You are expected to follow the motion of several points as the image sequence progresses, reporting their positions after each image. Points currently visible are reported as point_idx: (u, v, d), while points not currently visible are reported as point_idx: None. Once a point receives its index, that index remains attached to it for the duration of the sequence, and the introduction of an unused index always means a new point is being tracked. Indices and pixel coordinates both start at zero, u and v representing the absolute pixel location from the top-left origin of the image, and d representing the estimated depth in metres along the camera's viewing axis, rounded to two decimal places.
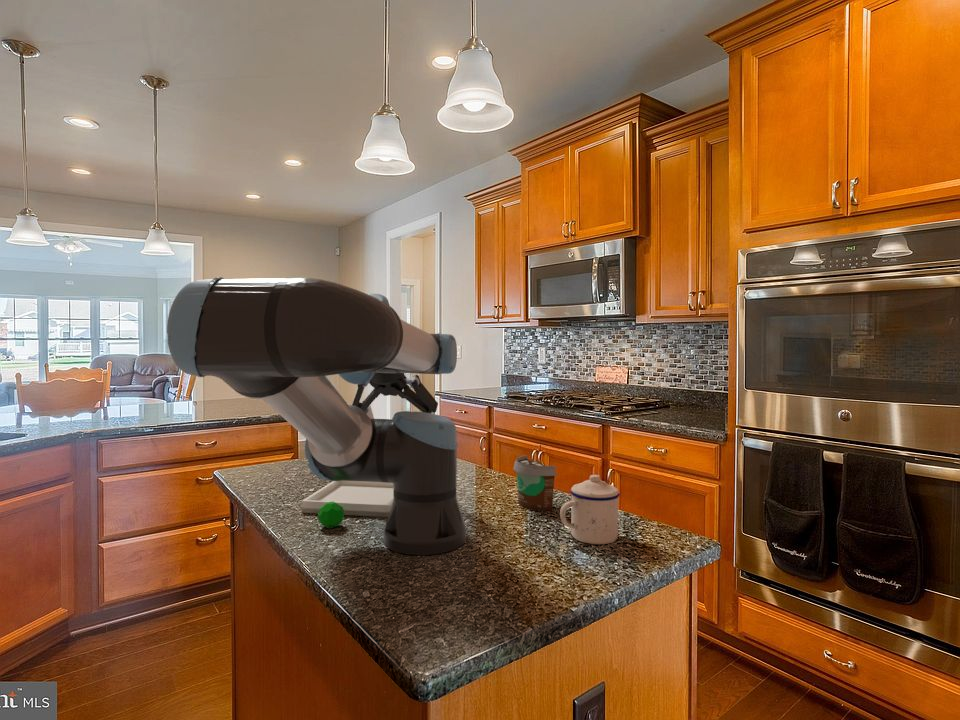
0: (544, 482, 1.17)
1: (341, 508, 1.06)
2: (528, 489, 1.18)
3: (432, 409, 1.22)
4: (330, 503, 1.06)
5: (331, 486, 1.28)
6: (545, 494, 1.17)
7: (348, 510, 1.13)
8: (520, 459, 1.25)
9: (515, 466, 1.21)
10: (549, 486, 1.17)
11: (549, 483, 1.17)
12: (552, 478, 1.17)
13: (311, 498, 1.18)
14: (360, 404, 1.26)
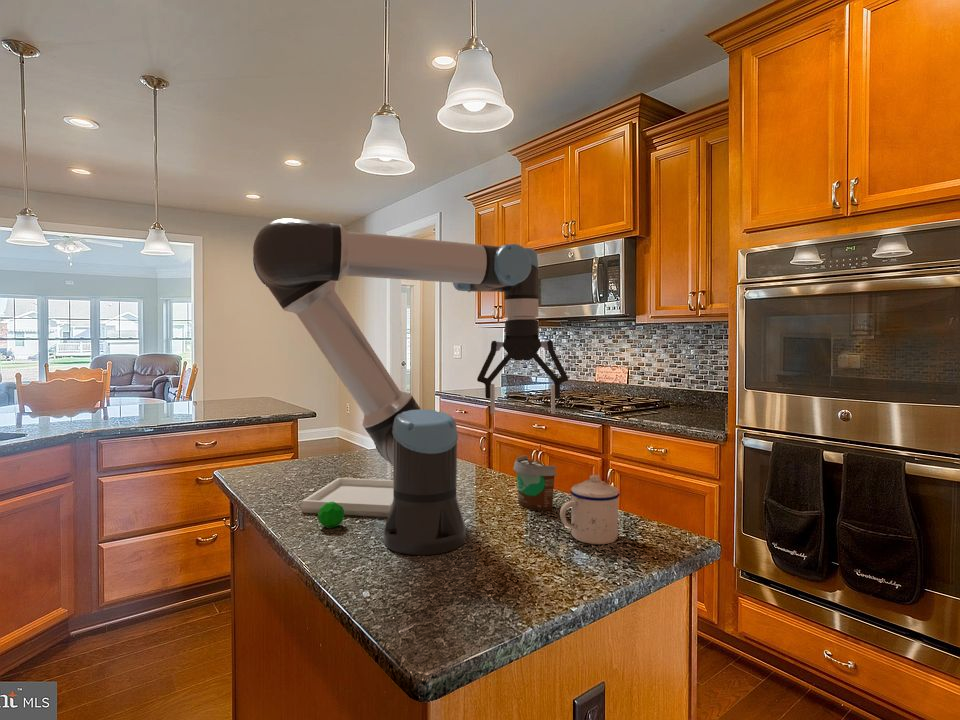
0: (544, 482, 1.17)
1: (341, 508, 1.06)
2: (528, 489, 1.18)
3: (564, 376, 1.19)
4: (330, 503, 1.06)
5: (331, 486, 1.28)
6: (545, 494, 1.17)
7: (348, 510, 1.13)
8: (520, 459, 1.25)
9: (515, 466, 1.21)
10: (549, 486, 1.17)
11: (549, 483, 1.17)
12: (552, 478, 1.17)
13: (311, 498, 1.18)
14: (486, 378, 1.22)
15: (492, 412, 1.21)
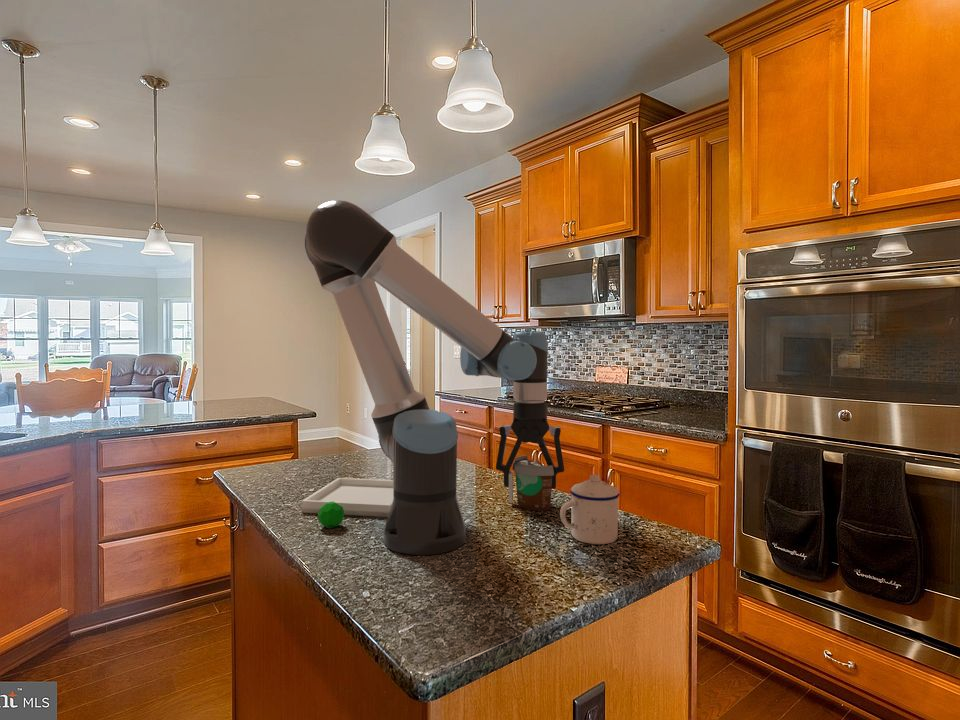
0: (542, 482, 1.17)
1: (341, 508, 1.06)
2: (526, 489, 1.18)
3: (561, 467, 1.18)
4: (330, 503, 1.06)
5: (331, 486, 1.28)
6: (543, 494, 1.17)
7: (348, 510, 1.13)
8: (520, 459, 1.25)
9: (513, 466, 1.21)
10: (547, 486, 1.17)
11: (547, 483, 1.17)
12: (550, 478, 1.17)
13: (311, 498, 1.18)
14: (504, 465, 1.21)
15: (510, 501, 1.20)
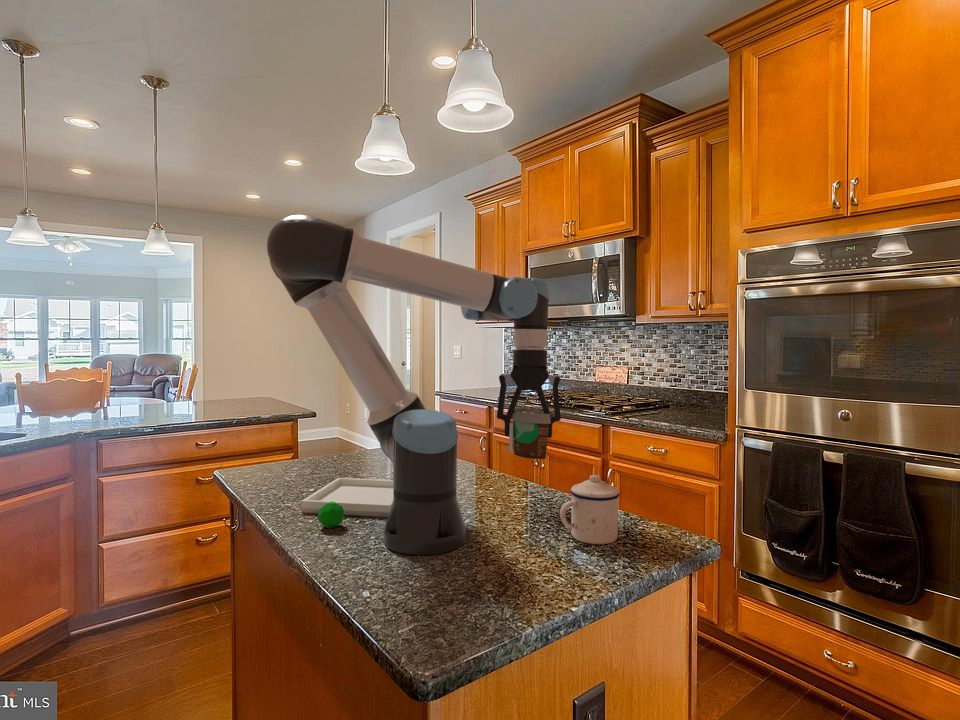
0: (538, 430, 1.16)
1: (341, 508, 1.06)
2: (522, 437, 1.17)
3: (557, 416, 1.18)
4: (330, 503, 1.06)
5: (331, 486, 1.28)
6: (539, 442, 1.16)
7: (348, 510, 1.13)
8: (519, 410, 1.25)
9: None
10: (543, 434, 1.16)
11: (544, 432, 1.16)
12: (546, 427, 1.16)
13: (311, 498, 1.18)
14: (505, 415, 1.21)
15: (511, 450, 1.19)
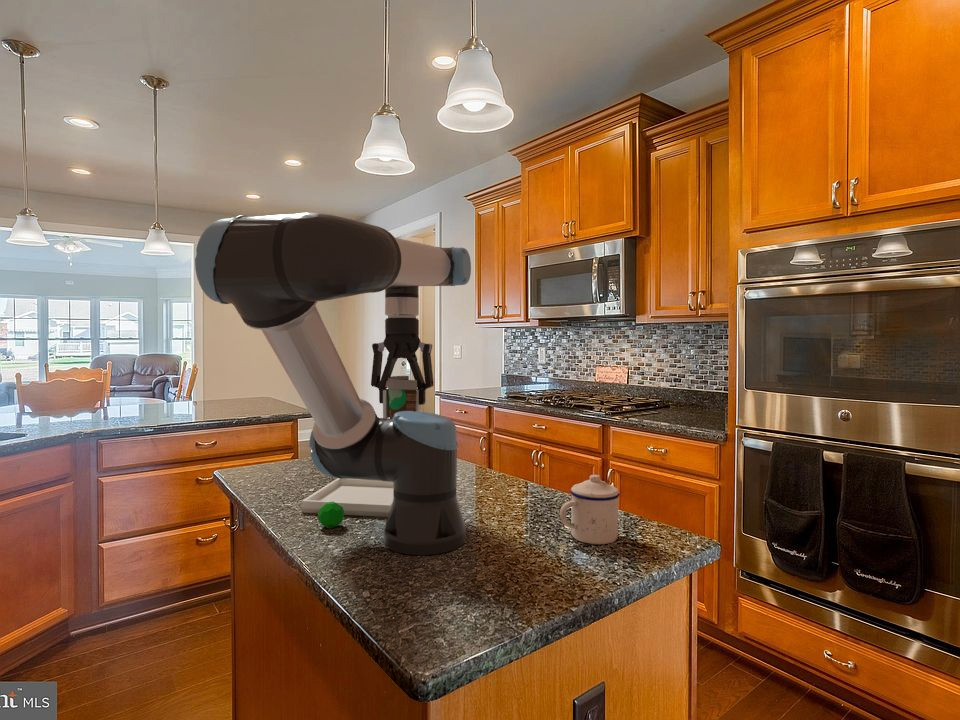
0: (406, 397, 1.18)
1: (341, 508, 1.06)
2: (393, 403, 1.20)
3: (427, 383, 1.20)
4: (330, 503, 1.06)
5: (331, 486, 1.28)
6: (407, 408, 1.18)
7: (348, 510, 1.13)
8: (399, 378, 1.27)
9: None
10: (411, 400, 1.18)
11: (411, 398, 1.18)
12: (414, 393, 1.18)
13: (311, 498, 1.18)
14: None
15: (384, 417, 1.22)
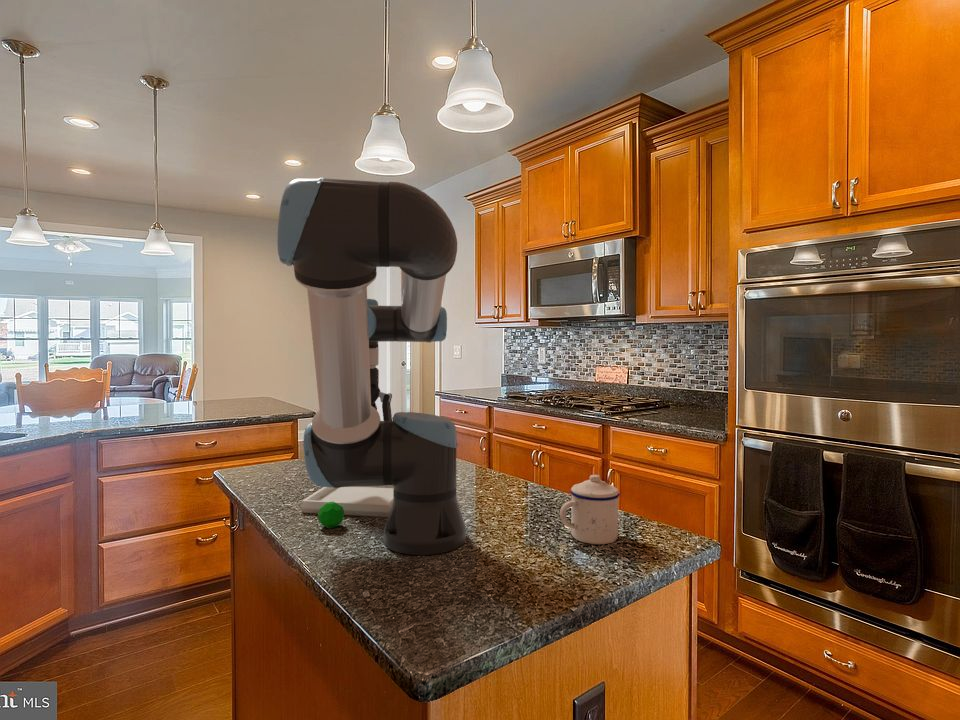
0: None
1: (341, 508, 1.06)
2: None
3: None
4: (330, 503, 1.06)
5: None
6: None
7: (348, 510, 1.13)
8: None
9: None
10: None
11: None
12: None
13: (311, 498, 1.18)
14: None
15: None
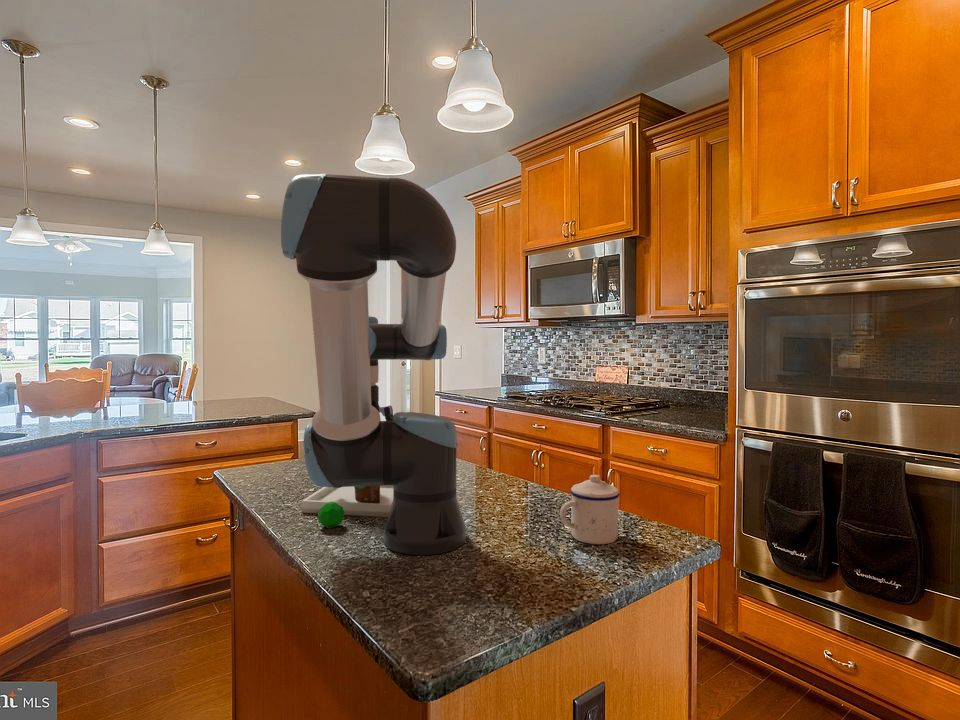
0: None
1: (341, 508, 1.06)
2: None
3: None
4: (330, 503, 1.06)
5: None
6: (371, 487, 1.18)
7: (348, 510, 1.13)
8: None
9: None
10: None
11: None
12: None
13: (311, 498, 1.18)
14: None
15: None
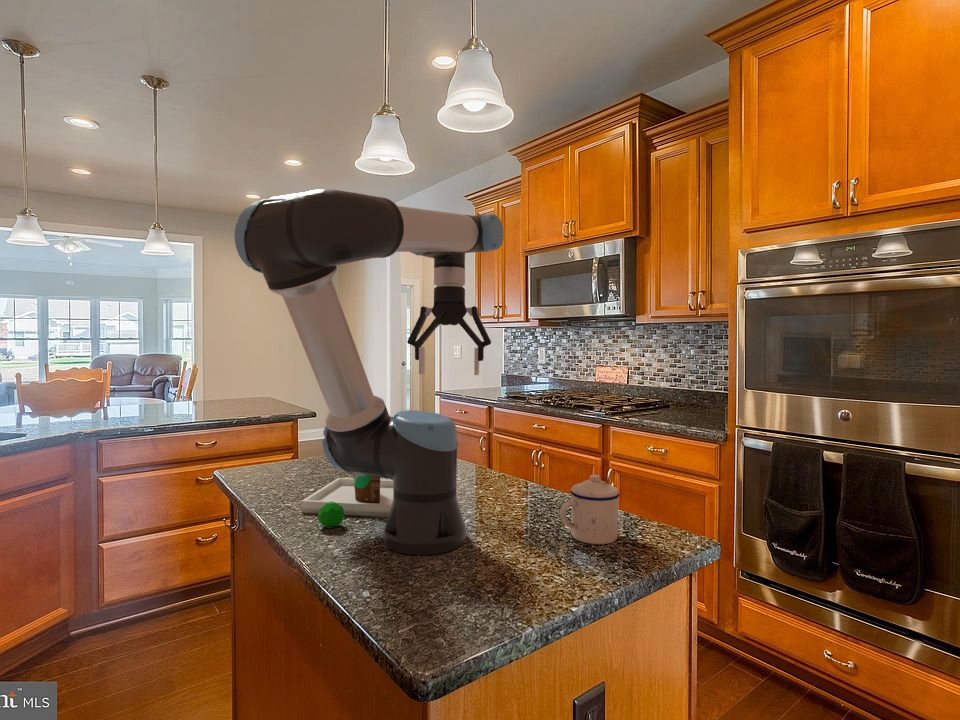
0: (369, 476, 1.17)
1: (341, 508, 1.06)
2: (357, 481, 1.19)
3: (486, 340, 1.28)
4: (330, 503, 1.06)
5: (331, 486, 1.28)
6: (371, 487, 1.18)
7: (348, 510, 1.13)
8: None
9: None
10: (375, 479, 1.17)
11: (375, 477, 1.17)
12: None
13: (311, 498, 1.18)
14: (416, 341, 1.31)
15: (420, 372, 1.30)
